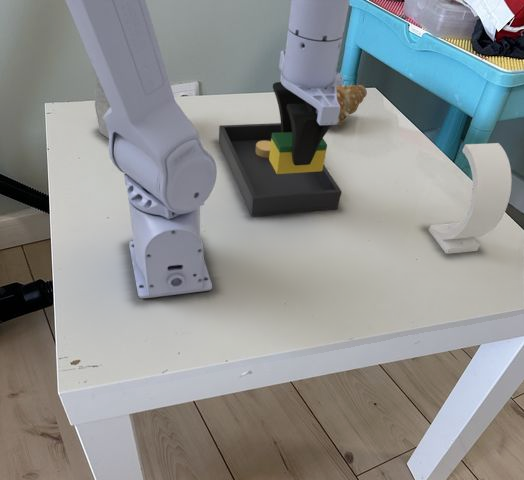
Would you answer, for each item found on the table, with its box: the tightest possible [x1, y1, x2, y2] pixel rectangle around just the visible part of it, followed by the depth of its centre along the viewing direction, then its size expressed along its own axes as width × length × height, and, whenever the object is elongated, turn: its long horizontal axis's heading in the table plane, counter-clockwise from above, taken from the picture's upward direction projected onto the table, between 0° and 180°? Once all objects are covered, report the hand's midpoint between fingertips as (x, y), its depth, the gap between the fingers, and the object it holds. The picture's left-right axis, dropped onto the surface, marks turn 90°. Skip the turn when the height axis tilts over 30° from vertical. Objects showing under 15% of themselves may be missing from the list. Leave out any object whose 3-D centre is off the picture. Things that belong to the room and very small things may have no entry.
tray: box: [218, 122, 343, 217], centre depth 71 cm, size 19×12×3 cm, turn 16°
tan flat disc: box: [255, 141, 271, 158], centre depth 74 cm, size 3×3×1 cm
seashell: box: [336, 84, 368, 126], centre depth 83 cm, size 9×8×10 cm
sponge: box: [269, 132, 328, 174], centre depth 62 cm, size 6×4×4 cm, turn 106°
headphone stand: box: [428, 142, 512, 255], centre depth 61 cm, size 5×6×12 cm
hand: (296, 155), depth 62 cm, fingers closed on sponge, 3 cm apart
